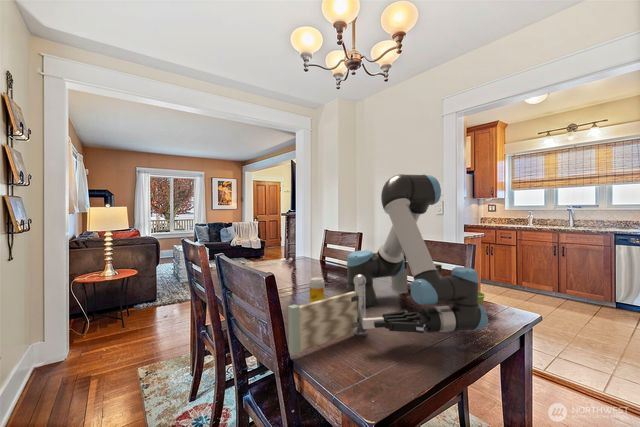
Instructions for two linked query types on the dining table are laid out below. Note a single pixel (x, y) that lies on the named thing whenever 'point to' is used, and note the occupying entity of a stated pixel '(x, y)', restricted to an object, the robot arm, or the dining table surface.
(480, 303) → the plant pot
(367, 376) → the dining table surface
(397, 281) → the glass holder
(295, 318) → the gate panel
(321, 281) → the orange and white cylinder
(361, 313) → the gate post
